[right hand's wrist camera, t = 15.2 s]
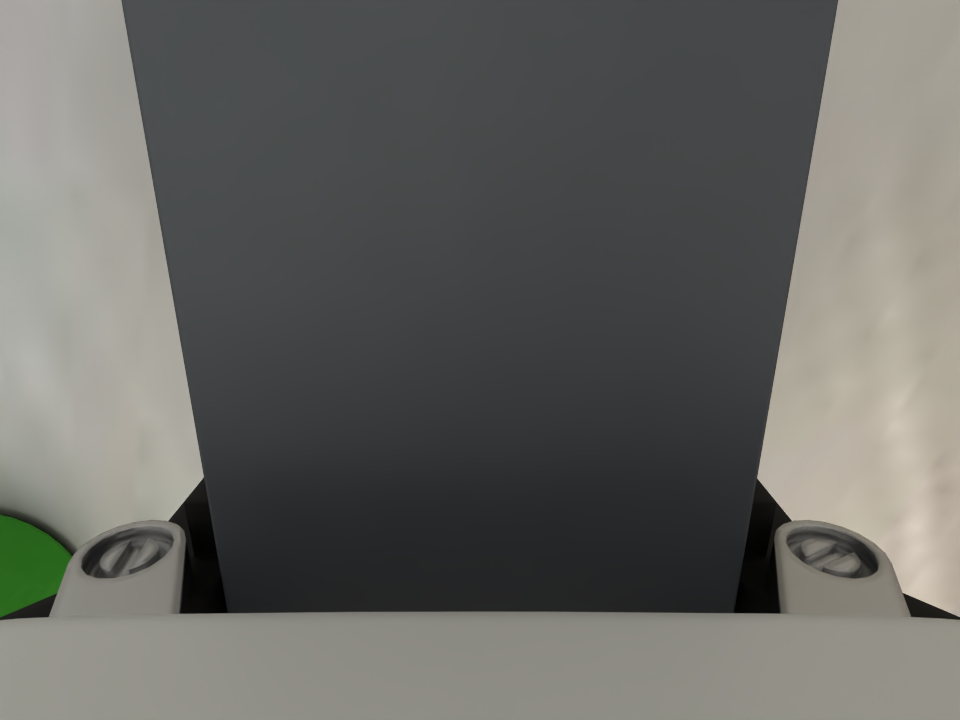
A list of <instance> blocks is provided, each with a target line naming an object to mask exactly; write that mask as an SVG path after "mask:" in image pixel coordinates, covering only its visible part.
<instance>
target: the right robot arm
mask: <svg viewBox="0 0 960 720" xmlns="http://www.w3.org/2000/svg"><path fill="white" fill-rule="evenodd" d="M0 720H960V617H958V616H956V615H953V614H951V613H948V612H946V611H944V610H941V609H939V608H937V607H934V606H932V605H930V604H927V603H925V602H923V601H920V600H918V599H916V598H913V597H911V596H909V595H906V594H904V593H902V590H901V588H900V585H899V582H898V579H897V577H896V574H895V571H894V568H893V565H892V563H891V561H890V560H889V558H888V557H887V555H886V553H885V552H883V551H882V550H881V549H880V548H879V547H878V546H877V545H876V544H875V543H873V542H872V541H870V540H868V539H867V538H865V537H863V536H862V535H860V534H858V533H856V532H853V531H851V530H849V529H846V528H844V527H841V526H837V525H834V524H830V523H826V522H820V521H812V520H799V521H791V519H790V518H789V517H788V516H787V515H786V513H785V512H784V511H783V510H782V508H781V507H780V506H779V505H778V504H777V502H776V501H775V500H774V499H773V497H772V496H771V495H770V494H769V493H768V491H767V490H766V489H765V488H764V486H763V485H762V484H761V483H760V482H759V480H758V479H757V480H756V486H755V492H754V498H753V504H752V510H751V516H750V522H749V528H748V533H747V539H746V545H745V551H744V557H743V563H742V569H741V575H740V581H739V586H738V592H737V598H736V604H735V610H734V613H643V612H303V613H228V612H227V606H226V601H225V595H224V589H223V583H222V577H221V572H220V566H219V560H218V554H217V549H216V543H215V537H214V531H213V525H212V520H211V514H210V508H209V502H208V497H207V491H206V485H205V479H204V478H203V479H202V481H201V482H200V483H199V484H198V486H197V487H196V488H195V489H194V490H193V492H192V493H191V494H190V495H189V497H188V498H187V499H186V500H185V501H184V503H183V504H182V505H181V506H180V508H179V509H178V510H177V511H176V512H175V514H174V515H173V516H172V517H171V519H170V520H169V521H161V520H148V521H140V522H134V523H130V524H126V525H123V526H119V527H116V528H114V529H111V530H109V531H107V532H104V533H102V534H100V535H98V536H97V537H95V538H93V539H92V540H90V541H88V542H87V543H85V544H84V545H83V546H82V547H81V548H80V549H79V550H78V551H77V552H75V553H74V555H73V557H72V558H71V560H70V561H69V563H68V565H67V568H66V571H65V574H64V576H63V579H62V582H61V585H60V588H59V590H58V593H56V594H54V595H52V596H49V597H47V598H45V599H42V600H40V601H38V602H35V603H33V604H31V605H28V606H26V607H24V608H21V609H19V610H16V611H14V612H12V613H9V614H7V615H5V616H2V617H0Z"/></svg>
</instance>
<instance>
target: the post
mask: <svg viewBox="0 0 960 720" xmlns="http://www.w3.org/2000/svg"><path fill="white" fill-rule="evenodd" d="M837 4H838V0H122V6H123V11H124V17H125V23H126V29H127V35H128V40H129V46H130V52H131V58H132V63H133V69H134V75H135V81H136V87H137V92H138V98H139V104H140V110H141V115H142V121H143V127H144V133H145V139H146V144H147V150H148V156H149V162H150V167H151V173H152V179H153V185H154V191H155V196H156V202H157V208H158V214H159V219H160V225H161V231H162V237H163V242H164V248H165V254H166V260H167V266H168V271H169V277H170V283H171V289H172V294H173V300H174V306H175V312H176V318H177V323H178V329H179V335H180V341H181V346H182V352H183V358H184V364H185V370H186V375H187V381H188V387H189V393H190V398H191V404H192V410H193V416H194V422H195V427H196V433H197V439H198V445H199V450H200V456H201V462H202V468H203V473H204V479H205V485H206V491H207V497H208V502H209V508H210V514H211V520H212V525H213V531H214V537H215V543H216V549H217V554H218V560H219V566H220V572H221V577H222V583H223V589H224V595H225V601H226V606H227V612H228V613H303V612H643V613H734V610H735V604H736V598H737V592H738V586H739V581H740V575H741V569H742V563H743V557H744V551H745V545H746V539H747V533H748V528H749V522H750V516H751V510H752V504H753V498H754V492H755V486H756V480H757V475H758V469H759V463H760V457H761V451H762V445H763V439H764V433H765V427H766V422H767V416H768V410H769V404H770V398H771V392H772V386H773V380H774V375H775V369H776V363H777V357H778V351H779V345H780V339H781V333H782V327H783V322H784V316H785V310H786V304H787V298H788V292H789V286H790V280H791V274H792V269H793V263H794V257H795V251H796V245H797V239H798V233H799V227H800V221H801V216H802V210H803V204H804V198H805V192H806V186H807V180H808V174H809V168H810V163H811V157H812V151H813V145H814V139H815V133H816V127H817V121H818V116H819V110H820V104H821V98H822V92H823V86H824V80H825V74H826V68H827V63H828V57H829V51H830V45H831V39H832V33H833V27H834V21H835V15H836V10H837Z"/></svg>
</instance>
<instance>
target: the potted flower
mask: <svg viewBox="0 0 960 720" xmlns="http://www.w3.org/2000/svg"><path fill="white" fill-rule="evenodd" d="M71 558H72V556H71V555H70V554H69V553H68V551H67V550H66V549H65V548H64V547H63V546H62V545H61V544H60V543H58V542H57V541H56V540H54V539H53V538H52V537H51V536H49V535H48V534H47V533H45V532H43V531H41V530H40V529H38V528H36V527H34V526H32V525H31V524H28V523H26V522H23V521H20V520H18V519H15V518H13V517H8V516H4V515H0V617H2V616H5V615H7V614H9V613H12V612H14V611H16V610H19V609H21V608H24V607H26V606H28V605H31V604H33V603H35V602H38V601H40V600H42V599H45V598H47V597H49V596H52V595H54V594H56V593H58V590H59V588H60V585H61V582H62V579H63V576H64V574H65V571H66V568H67V565H68V563H69V561H70V560H71Z"/></svg>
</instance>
